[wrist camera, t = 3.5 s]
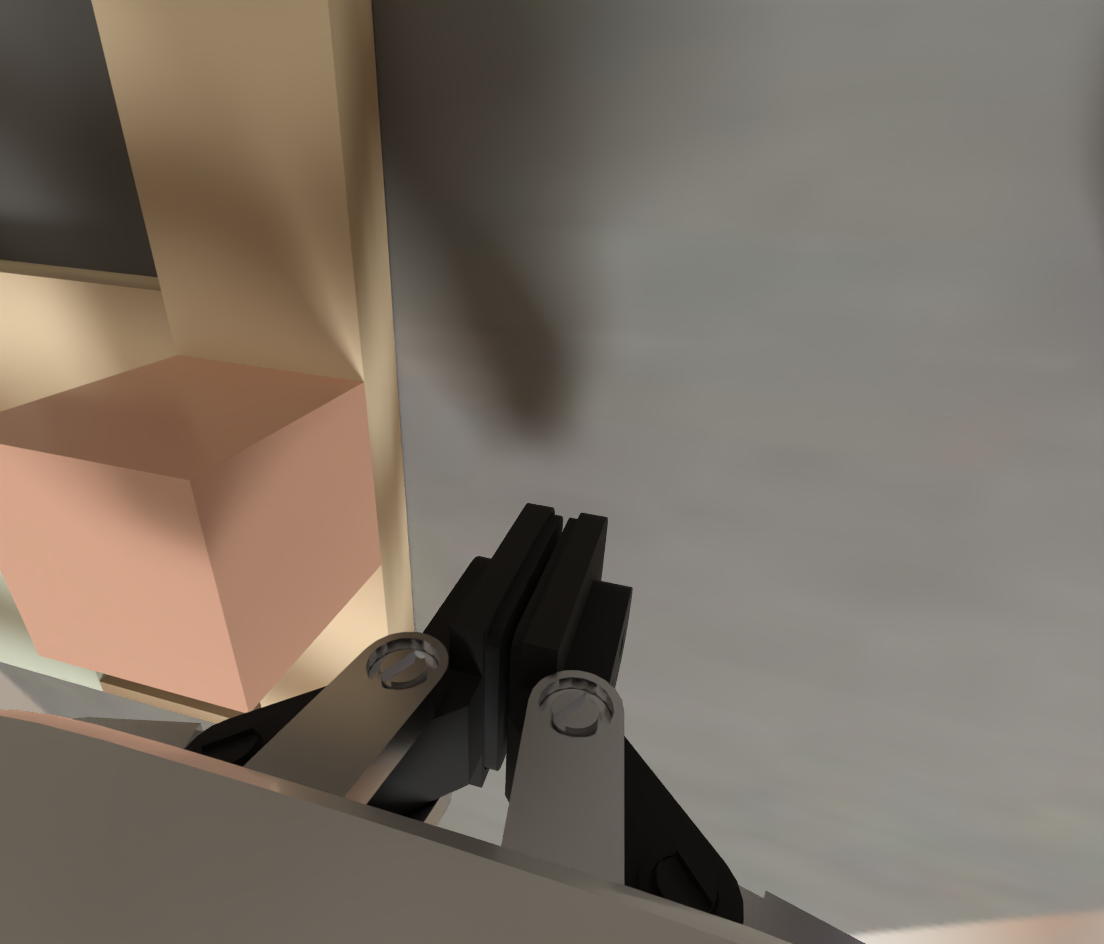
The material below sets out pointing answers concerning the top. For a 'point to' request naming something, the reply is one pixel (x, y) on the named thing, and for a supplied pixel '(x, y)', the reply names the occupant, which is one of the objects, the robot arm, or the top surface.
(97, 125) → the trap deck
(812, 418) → the top surface
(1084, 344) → the top surface
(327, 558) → the terracotta block
